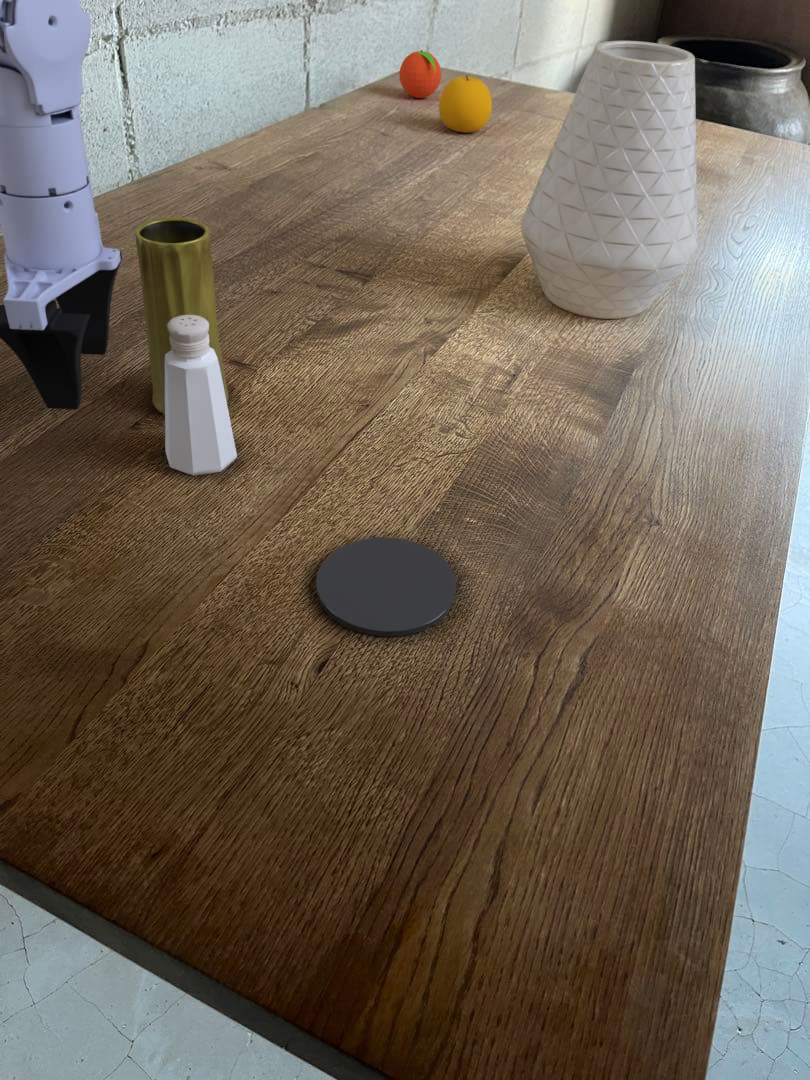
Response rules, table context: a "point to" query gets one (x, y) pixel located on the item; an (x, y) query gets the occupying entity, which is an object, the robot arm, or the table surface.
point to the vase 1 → (175, 287)
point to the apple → (465, 104)
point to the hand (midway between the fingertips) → (78, 378)
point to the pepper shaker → (195, 401)
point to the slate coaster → (386, 586)
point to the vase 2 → (619, 184)
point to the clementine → (420, 74)
